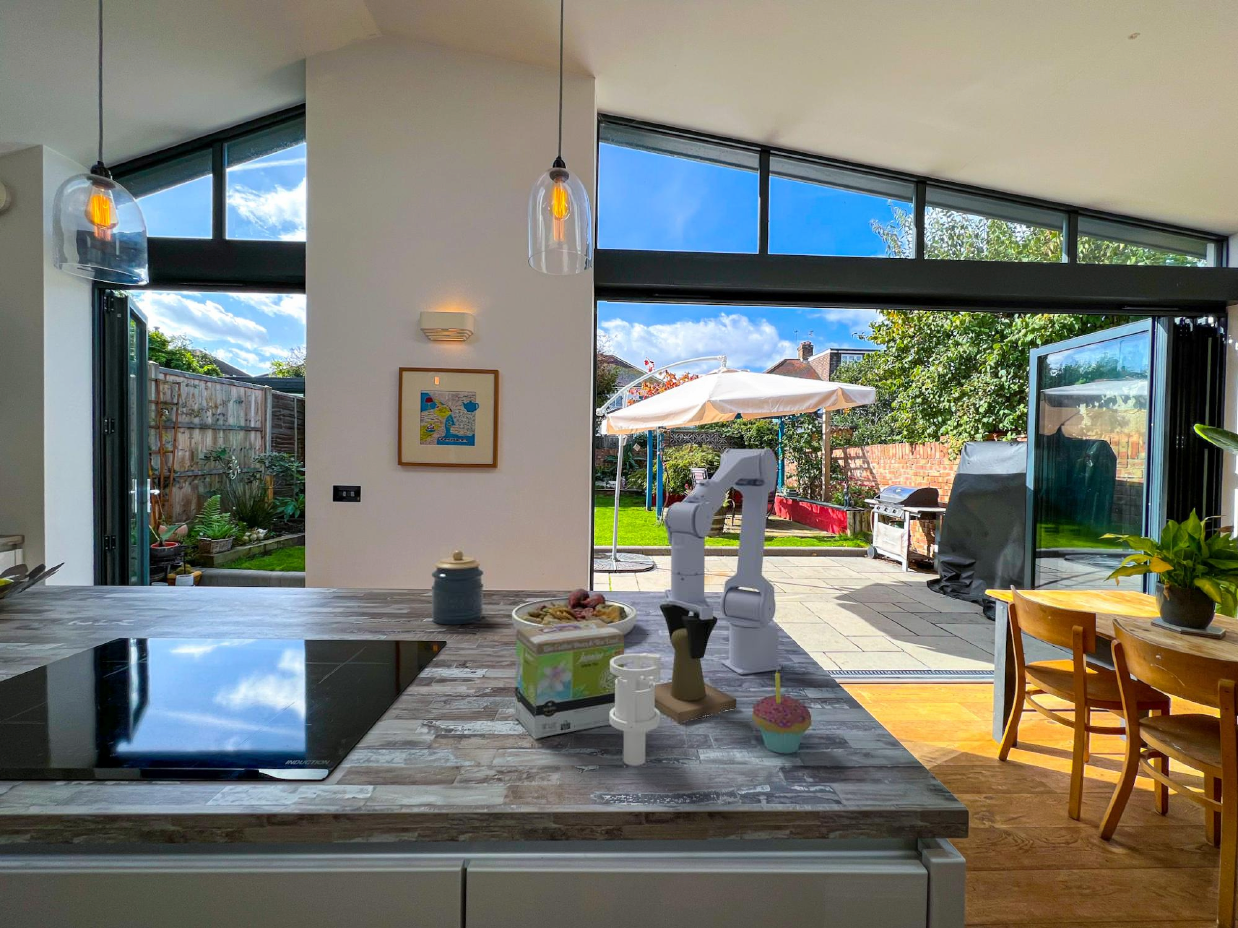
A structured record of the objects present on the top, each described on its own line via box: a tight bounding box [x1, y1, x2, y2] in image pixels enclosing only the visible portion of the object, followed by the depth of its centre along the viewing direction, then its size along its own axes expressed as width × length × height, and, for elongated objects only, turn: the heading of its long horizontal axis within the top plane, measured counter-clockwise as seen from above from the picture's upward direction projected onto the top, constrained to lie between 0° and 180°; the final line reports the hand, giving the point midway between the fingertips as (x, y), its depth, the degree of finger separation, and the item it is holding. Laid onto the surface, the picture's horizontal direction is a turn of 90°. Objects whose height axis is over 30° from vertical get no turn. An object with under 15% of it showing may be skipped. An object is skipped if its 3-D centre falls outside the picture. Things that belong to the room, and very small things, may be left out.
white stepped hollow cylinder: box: [609, 652, 662, 767], centre depth 89 cm, size 7×7×15 cm
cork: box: [670, 628, 706, 701], centre depth 109 cm, size 6×6×11 cm
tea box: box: [514, 620, 625, 740], centre depth 102 cm, size 15×10×15 cm, turn 117°
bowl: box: [511, 588, 637, 636], centre depth 155 cm, size 30×30×8 cm
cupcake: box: [752, 669, 812, 754], centre depth 94 cm, size 9×8×12 cm
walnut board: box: [649, 681, 737, 724], centre depth 110 cm, size 12×12×2 cm
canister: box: [431, 550, 484, 625], centre depth 165 cm, size 13×13×18 cm
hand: (687, 651), depth 110 cm, fingers open, 7 cm apart
